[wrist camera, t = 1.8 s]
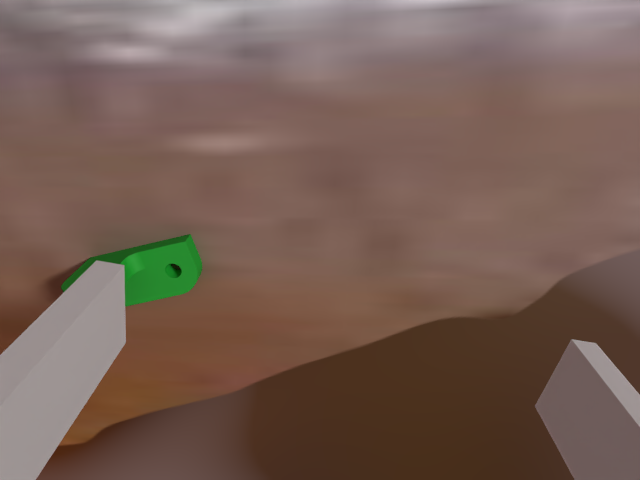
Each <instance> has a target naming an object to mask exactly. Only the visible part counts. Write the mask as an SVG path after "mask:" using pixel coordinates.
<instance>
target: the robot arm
mask: <svg viewBox="0 0 640 480" xmlns="http://www.w3.org/2000/svg"><path fill="white" fill-rule="evenodd" d="M125 343H126V327H125V272H124V265H121V264H115V263H109V262H103V261H97V260H96V261H95V262H94V263H93V264H92V265H91V266H90V267H89V268H88V269H87V270H86V271H85V272H84V273H83V274H82V275H81V276H80V277H79V278H78V279H77V280H76V281H75V282H74V283H73V284H72V285H71V286H70V287H69V288H68V289H67V290H66V291H65V292H64V293H63V294H62V295H61V296H60V297H59V298H58V299H57V300H56V301H55V302H54V303H53V304H52V305H51V306H50V307H49V308H48V309H47V310H46V311H45V312H44V313H43V314H42V315H41V316H40V317H38V318H37V319H36V320H35V321H34V322H33V323H32V324H31V325H30V326H29V327H28V328H27V329H26V330H25V331H24V332H23V333H22V334H21V335H20V336H19V337H18V338H17V339H16V340H15V341H14V342H13V343H12V344H11V345H10V346H9V347H8V348H7V349H6V350H5V351H4V352H3V353H2V354H1V355H0V480H36V478H37V476H38V475H39V474H40V472H41V471H42V469H43V468H44V466H45V464H46V463H47V461H48V460H49V458H50V457H51V455H52V454H53V452H54V451H55V449H56V448H57V446H58V445H59V443H60V442H61V440H62V439H63V437H64V436H65V434H66V433H67V431H68V430H69V428H70V426H71V425H72V423H73V422H74V420H75V419H76V417H77V416H78V414H79V413H80V411H81V410H82V408H83V407H84V405H85V404H86V402H87V401H88V399H89V398H90V396H91V395H92V393H93V391H94V390H95V388H96V387H97V385H98V384H99V382H100V381H101V379H102V378H103V376H104V375H105V373H106V372H107V370H108V369H109V367H110V366H111V364H112V363H113V361H114V360H115V358H116V356H117V355H118V353H119V352H120V350H121V349H122V347H123V346H124V344H125ZM535 407H536V409H537V411H538V413H539V414H540V416H541V418H542V420H543V422H544V424H545V425H546V427H547V429H548V431H549V433H550V435H551V437H552V438H553V440H554V442H555V444H556V446H557V448H558V450H559V451H560V453H561V455H562V457H563V459H564V461H565V462H566V464H567V466H568V468H569V470H570V472H571V473H572V475H573V477H574V479H575V480H640V395H639V394H638V392H637V391H636V390H635V389H634V388H633V387H632V385H631V384H630V383H629V382H628V381H627V379H626V378H625V377H624V376H623V375H622V374H621V372H620V371H619V370H618V369H617V368H616V367H615V365H614V364H613V363H612V362H611V361H610V359H609V358H608V357H607V356H606V355H605V354H604V352H603V351H602V350H601V349H600V347H599V346H598V345H597V344H596V343H590V342H585V341H579V340H573V339H571V341H570V343H569V345H568V347H567V348H566V350H565V352H564V354H563V356H562V358H561V360H560V362H559V363H558V365H557V367H556V369H555V370H554V372H553V374H552V376H551V378H550V380H549V381H548V383H547V385H546V387H545V389H544V391H543V393H542V394H541V396H540V398H539V400H538V402H537V403H536V405H535Z"/></svg>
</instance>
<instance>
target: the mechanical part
mask: <svg viewBox="0 0 640 480" xmlns="http://www.w3.org/2000/svg"><path fill="white" fill-rule="evenodd" d="M96 260H97V261H103V262H109V263H115V264H121V265H124V272H125V306H130V305H134V304H139V303H144V302H148V301H153V300H157V299H162V298H167V297H171V296H176V295H180V294H184V293H186V292H188V291H190V290H191V289H192V288H193V287H194V285H195V284H196V282H197V280H198V278H199V276H200V274H201V271H202V262H201V259H200V256H199V254H198V251H197V249H196V247H195V244H194V242H193V239H192V237H191V235H190V234H189V235H185V236H180V237H176V238H172V239H168V240H163V241H159V242H155V243H150V244H146V245H142V246H138V247H133V248H129V249H125V250H121V251H116V252H112V253H108V254H104V255H99V256H95V257H91V258H89V259H88V260H87V261H86V262H85V263H84V264H83V265H82V266H81V267H80V268H79V269H77V270H76V271H75V272H74V273H73V274H72V275H71V276H70V277H69V278H68V279H67V280H66V281H65V282H64V283H63V284H62V286H61V289H62V290H63V292H65V291H66V290H67V289H68V288H69V287H70V286H71V285H72V284H73V283H74V282H75V281H76V280H77V279H78V278H79V277H80V276H81V275H82V274H83V273H84V272H85V271H86V270H87V269H88V268H89V267H90V266H91V265H92V264H93V263H94V262H95V261H96ZM171 264H176V265H178V266H179V267H180V268H181V270H177V269H175V268H173V267H172V265H171Z"/></svg>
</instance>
